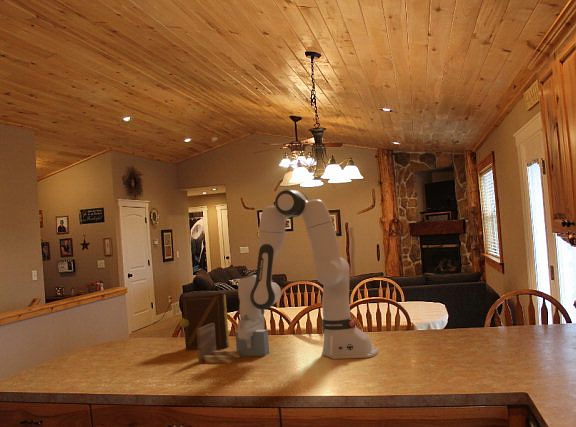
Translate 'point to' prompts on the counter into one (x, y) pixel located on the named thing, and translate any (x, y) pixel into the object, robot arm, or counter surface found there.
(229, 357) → the wooden display stand
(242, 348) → the box book
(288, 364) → the counter surface
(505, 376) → the counter surface
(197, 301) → the book
